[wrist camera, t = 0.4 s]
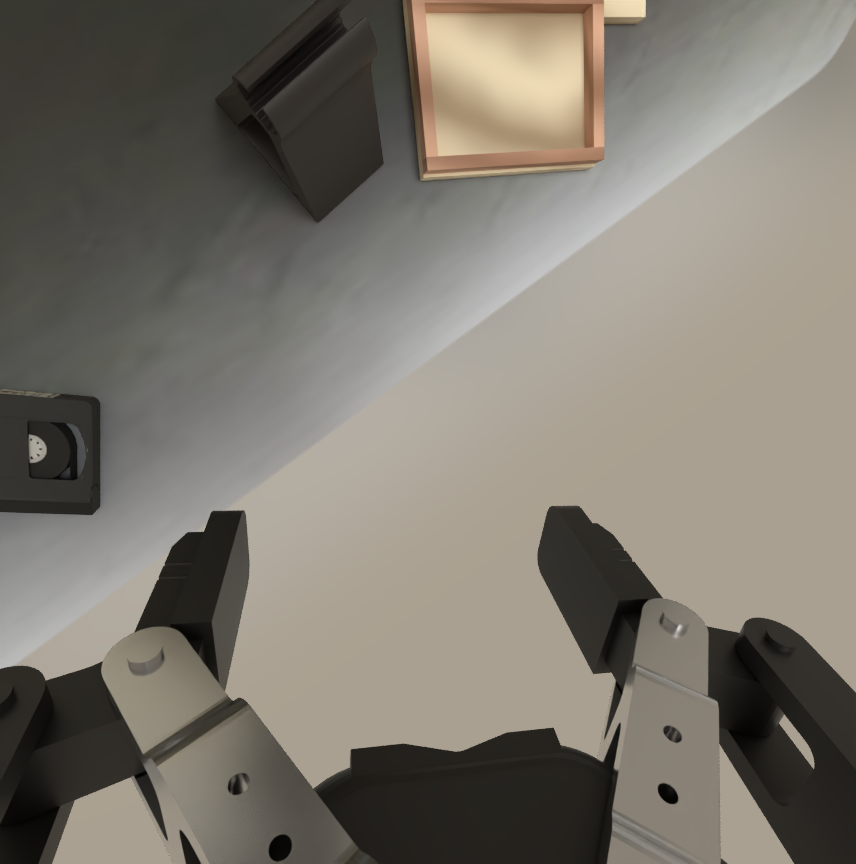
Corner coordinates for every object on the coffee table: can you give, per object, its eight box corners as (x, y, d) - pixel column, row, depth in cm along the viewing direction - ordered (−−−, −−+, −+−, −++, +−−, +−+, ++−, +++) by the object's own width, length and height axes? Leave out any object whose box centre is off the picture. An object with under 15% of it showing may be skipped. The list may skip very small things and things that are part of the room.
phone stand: (382, 165, 34) (424, 103, 23) (317, 223, 34) (326, 190, 23) (288, 36, 31) (282, -108, 20) (215, 100, 31) (169, -8, 20)
